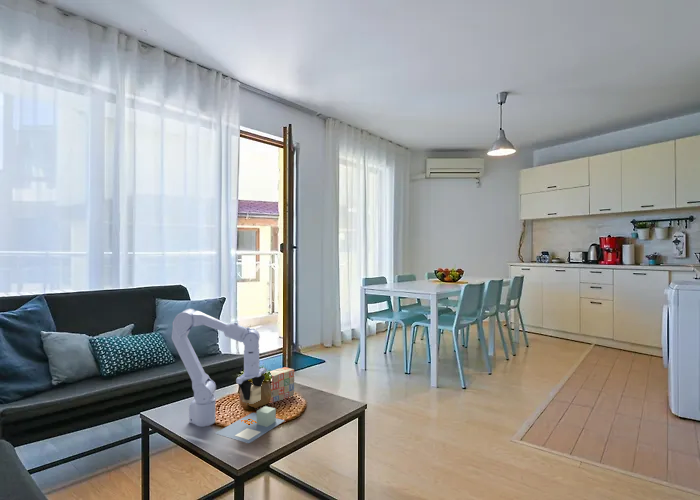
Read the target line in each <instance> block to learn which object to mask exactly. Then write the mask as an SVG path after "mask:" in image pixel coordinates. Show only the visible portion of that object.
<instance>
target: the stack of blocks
mask: <svg viewBox="0 0 700 500" xmlns="http://www.w3.org/2000/svg"><path fill="white" fill-rule="evenodd" d="M269 372H270V373H271V375H272V383H271V401H270V404H273V403H274V402H275V403H276V402H277V401H280V400H283V399H285V398H288V397H290V398H292V397H291V396H293V395H294V396H295V369H294V368H289V367H288V366H287V367H286V366H284V367H279V368H276V369H273V370H271V371H269ZM294 396H293V397H294ZM288 399H289V398H288ZM285 400H286V399H285ZM283 401H284V400H283ZM280 402H281V401H280Z"/></svg>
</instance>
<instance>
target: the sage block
mask: <svg viewBox="0 0 700 500" xmlns="http://www.w3.org/2000/svg"><path fill="white" fill-rule="evenodd" d="M276 409H277V408H275V407H271V406H268V405H265V406H263V407H260V408H258V409H256V413H257V424H258V425H262V426H265V427H268V426H270V425H271V424H273V423H274V422H276V418H277V414H276V413H277V410H276Z"/></svg>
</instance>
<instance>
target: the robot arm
mask: <svg viewBox="0 0 700 500" xmlns="http://www.w3.org/2000/svg"><path fill="white" fill-rule="evenodd" d="M200 326H206V327H209V328H212V329H214V330H217V331H220V332H223V334H224V336H225V337H227V338H229V339H232V340H234V341H236V342H239V343H242V344H243V346H244V348H243V349H244V350H243V374H241V375H240V376H239V377H237V378H236V379H235V382H236V384H238V386H239V388H240V390H241V392H242V393H243V396H244V399H245V400H249V399H250V390H251V386H252V384H253V385H255V386H260V387H261V386H262V383H263V381H264V379H265V376H264V374H265V373H267V369H266V367H265V368H264V367H261V368H260V344H259V341H260V338H261V337H260V336H261V335H260V333H259V331H257V329H255V328H250V327H248V326H247V327H245V326H243V325H240V324H239V322H237V321H234V322H233V321H231V322H229V323H227V322H224V321H222V320H219V319H218V318H216V317H213V316H211V315H209V314H206V313H204V312H202V311H200V310H195V309H194V308H186V309H184V310H183V311H182V312H179V313H177V314H176V315H175V317H174V318H173V321H172V330H171V341H172V343H173V345H174V347H175V349H176V351H177V352H178V353H177V354H178V355H179V357H180V360H181V361H182V363H183V365H184V367H185V369H186V371H187V374H188V375H189V376H188V377H189V378H190V381H191V388H192V391H193V400H191V402H190V403H189V406H188V407H189V408H188V422H189V423H190V424H193V425H195V426H196V427H208V426H212V425H213V424H215V423H216V396H215V394H214V393H215V392H216V390H217V385H216V382H215V381H214V380H213V379H211V378H210V376H209V374H208V373H206V372H205V370H204V368H203V366H202V364H201V362H200V360H199V357H198V355H197V354H196V352H195V349H194V348H193V345H192V343H191V342H190V341H191V340H190V339H189V337H188V336H189V333H190V332H191V328H192V327H193V328H194V327H200ZM249 380H251V381H252V382H251V381H249Z"/></svg>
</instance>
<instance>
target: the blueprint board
mask: <svg viewBox="0 0 700 500" xmlns="http://www.w3.org/2000/svg"><path fill="white" fill-rule="evenodd" d="M248 419H252V420H254V421H256V422H257V412H251V413H249V414H247V415H245V416H244V417H242V418H240V419H238V420H236V421H234V422H233V423H231V424H229V425H227V426H225V427H223V428H221V429H220V430H218V431H216V432H214V434H216V435H219V436H222V437H226V438H229V439H233V440H236V441H240V442H243V443H246V444H251V443H253V442H254V441H255V440H257V439H258V438H260V437H262V436H263V435H265V434H266V433H268V432H269V431H271V430H273V429H274V428H275V427H277V426H279V425H280V424H282V423H283V422H285V421H286V420H284V419H281V418H278V417H276V422H274V423H273V424H271V425H270V426H268V427H265V426H262V425H258V424H257V423H255V422H252V423H253V424H251V423H250V425H248V424H246V423H247V422H246V423H244V421H242V422H241V420H248ZM252 420H248V421H250V422H251V421H252Z"/></svg>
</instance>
